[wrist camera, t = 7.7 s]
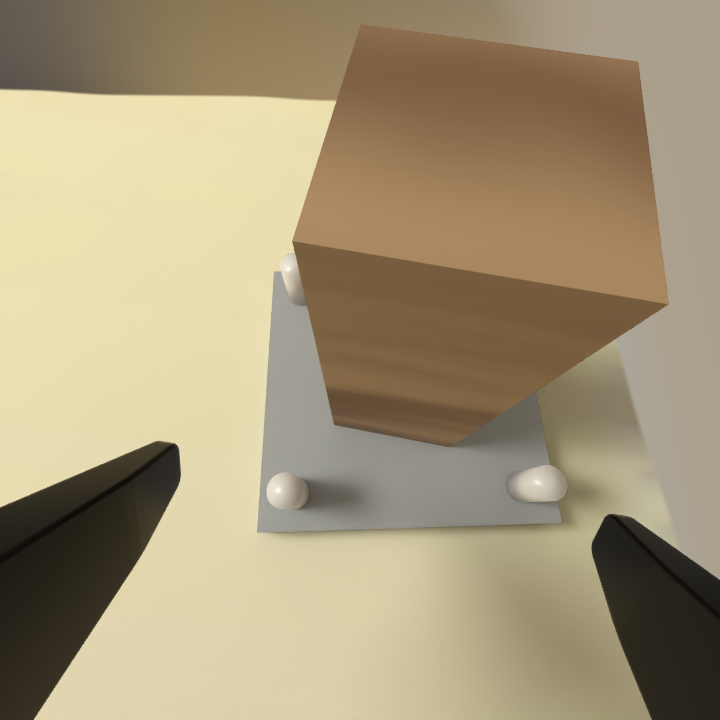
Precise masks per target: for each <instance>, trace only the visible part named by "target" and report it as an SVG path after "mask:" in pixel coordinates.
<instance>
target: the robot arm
mask: <svg viewBox="0 0 720 720" xmlns="http://www.w3.org/2000/svg"><path fill="white" fill-rule="evenodd" d="M180 478H181V469H180V456H179V448H178V446H177V445H176V444H175V443H170V442H163V441H156V442H153V443H151V444H148V445H146V446H144V447H141V448H139V449H137V450H134V451H132V452H130V453H127V454H125V455H123V456H120V457H118V458H115V459H113V460H111V461H108V462H106V463H104V464H101V465H99V466H97V467H94V468H92V469H90V470H87V471H85V472H83V473H80V474H78V475H75V476H73V477H71V478H68V479H66V480H64V481H61V482H59V483H57V484H54V485H52V486H50V487H47V488H45V489H42V490H40V491H38V492H35V493H33V494H31V495H28V496H26V497H24V498H21V499H19V500H17V501H14V502H12V503H9V504H7V505H5V506H2V507H0V720H34V718H35V717H36V715H37V714H38V712H39V711H40V709H41V708H42V706H43V705H44V703H45V702H46V700H47V699H48V697H49V696H50V694H51V693H52V691H53V689H54V688H55V686H56V685H57V683H58V682H59V680H60V679H61V677H62V676H63V674H64V673H65V671H66V670H67V668H68V667H69V665H70V664H71V662H72V661H73V659H74V657H75V656H76V654H77V653H78V651H79V650H80V648H81V647H82V645H83V644H84V642H85V641H86V639H87V638H88V636H89V635H90V633H91V632H92V630H93V629H94V627H95V625H96V624H97V622H98V621H99V619H100V618H101V616H102V615H103V613H104V612H105V610H106V609H107V607H108V606H109V604H110V603H111V601H112V600H113V598H114V597H115V595H116V593H117V592H118V590H119V589H120V587H121V586H122V584H123V583H124V581H125V580H126V578H127V577H128V575H129V574H130V572H131V571H132V569H133V568H134V566H135V565H136V563H137V561H138V560H139V558H140V557H141V555H142V553H143V552H144V550H145V548H146V546H147V544H148V543H149V541H150V539H151V537H152V535H153V533H154V531H155V529H156V527H157V525H158V523H159V522H160V520H161V518H162V516H163V514H164V512H165V510H166V508H167V506H168V504H169V502H170V501H171V499H172V497H173V495H174V493H175V491H176V489H177V487H178V485H179V482H180ZM592 555H593V559H594V562H595V565H596V569H597V572H598V575H599V578H600V582H601V585H602V588H603V591H604V594H605V598H606V601H607V604H608V607H609V611H610V614H611V617H612V620H613V623H614V626H615V629H616V632H617V635H618V638H619V640H620V643H621V646H622V648H623V651H624V653H625V656H626V658H627V660H628V663H629V665H630V668H631V670H632V673H633V675H634V678H635V680H636V682H637V685H638V687H639V690H640V692H641V695H642V697H643V700H644V702H645V704H646V707H647V709H648V712H649V714H650V717H651V719H652V720H720V580H719V579H718V578H716V577H715V576H714V575H712V574H711V573H709V572H708V571H707V570H705V569H704V568H702V567H701V566H699V565H698V564H697V563H695V562H694V561H692V560H691V559H690V558H688V557H687V556H685V555H684V554H683V553H681V552H680V551H678V550H677V549H676V548H674V547H673V546H671V545H670V544H668V543H667V542H666V541H664V540H663V539H661V538H660V537H659V536H657V535H656V534H654V533H653V532H652V531H650V530H649V529H647V528H646V527H645V526H643V525H642V524H640V523H639V522H637V521H636V520H635V519H633V518H631V517H628V516H623V515H616V514H609V515H607V516H606V517H605V518H604V520H603V522H602V524H601V526H600V528H599V530H598V532H597V534H596V536H595V538H594V540H593V542H592Z"/></svg>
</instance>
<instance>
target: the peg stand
mask: <svg viewBox="0 0 720 720" xmlns="http://www.w3.org/2000/svg"><path fill="white" fill-rule="evenodd" d="M280 269H281V272H274V281H273V297H272V312H271V328H270V343H269V359H268V374H267V390H266V405H265V421H264V436H263V452H262V467H261V482H260V498H259V513H258V529H257V533H267V532H298V531H329V530H361V529H392V528H423V527H455V526H486V525H518V524H549V523H562V519H561V514H560V510H559V505H558V500H560V499H562V498H563V497H564V496H565V495H566V493H567V489H568V483H567V479H566V477H565V475H564V474H563V473H562V471H560V470H559V469H558V468H556V467H554V466H551V465H550V461H549V456H548V451H547V446H546V442H545V437H544V432H543V427H542V422H541V417H540V412H539V408H538V403H537V398H536V393H535V392H534V393H532V394H531V395H529V396H528V397H526V398H525V399H523V400H521V401H520V402H518V403H517V404H515V405H514V406H512V407H511V408H509V409H508V410H506V411H505V412H503V413H502V414H500V415H499V416H497V417H495V418H494V419H492V420H491V421H489V422H488V423H486V424H485V425H483V426H482V427H480V428H479V429H477V430H476V431H474V432H473V433H471V434H470V435H468V436H466V437H465V438H463V439H462V440H460V441H459V442H457V443H456V444H454V445H453V446H451V447H445V446H440V445H435V444H430V443H424V442H419V441H414V440H409V439H404V438H399V437H393V436H388V435H383V434H378V433H373V432H368V431H362V430H357V429H352V428H347V427H342V426H337V425H334V423H333V418H332V414H331V409H330V405H329V401H328V396H327V392H326V387H325V383H324V378H323V374H322V370H321V365H320V361H319V356H318V352H317V348H316V343H315V339H314V334H313V330H312V326H311V321H310V317H309V312H308V308H307V303H306V299H305V295H304V290H303V286H302V281H301V277H300V273H299V268H298V264H297V259H296V255H295V253H291V254H288V255H286V256H284V257H283V258H282V260H281V262H280Z"/></svg>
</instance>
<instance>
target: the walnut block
mask: <svg viewBox="0 0 720 720" xmlns="http://www.w3.org/2000/svg"><path fill="white" fill-rule="evenodd" d="M292 242H293V246H294V251H295V255H296V259H297V264H298V268H299V273H300V277H301V281H302V286H303V290H304V295H305V299H306V303H307V308H308V312H309V317H310V321H311V326H312V330H313V334H314V339H315V343H316V348H317V352H318V356H319V361H320V365H321V370H322V374H323V378H324V383H325V387H326V392H327V396H328V401H329V405H330V409H331V414H332V418H333V423H334V425H337V426H342V427H347V428H352V429H357V430H362V431H368V432H373V433H378V434H383V435H388V436H393V437H399V438H404V439H409V440H414V441H419V442H424V443H430V444H435V445H440V446H445V447H451V446H453V445H454V444H456V443H457V442H459V441H460V440H462V439H463V438H465V437H466V436H468V435H470V434H471V433H473V432H474V431H476V430H477V429H479V428H480V427H482V426H483V425H485V424H486V423H488V422H489V421H491V420H492V419H494V418H495V417H497V416H499V415H500V414H502V413H503V412H505V411H506V410H508V409H509V408H511V407H512V406H514V405H515V404H517V403H518V402H520V401H521V400H523V399H525V398H526V397H528V396H529V395H531V394H532V393H534V392H535V391H537V390H538V389H540V388H541V387H543V386H544V385H546V384H547V383H549V382H551V381H552V380H554V379H555V378H557V377H558V376H560V375H561V374H563V373H564V372H566V371H567V370H569V369H570V368H572V367H573V366H575V365H577V364H578V363H580V362H581V361H583V360H584V359H586V358H587V357H589V356H590V355H592V354H593V353H595V352H596V351H598V350H599V349H601V348H602V347H604V346H606V345H607V344H609V343H610V342H612V341H613V340H615V339H616V338H618V337H619V336H621V335H622V334H624V333H625V332H627V331H628V330H629V329H632V328H633V327H635V326H636V325H638V324H639V323H641V322H642V321H644V320H645V319H647V318H648V317H650V316H651V315H653V314H654V313H656V312H658V311H659V310H660V309H662V308H664V307H665V306H667V305H668V304H669V303H668V295H667V287H666V279H665V272H664V263H663V255H662V248H661V239H660V232H659V223H658V215H657V208H656V200H655V193H654V184H653V176H652V168H651V160H650V153H649V145H648V136H647V128H646V121H645V113H644V105H643V97H642V89H641V81H640V73H639V65H638V62H636V61H628V60H621V59H614V58H606V57H599V56H591V55H584V54H576V53H569V52H562V51H554V50H547V49H539V48H532V47H524V46H517V45H510V44H501V43H495V42H487V41H480V40H472V39H465V38H458V37H450V36H443V35H435V34H427V33H420V32H413V31H406V30H398V29H391V28H382V27H375V26H368V25H360V29H359V32H358V35H357V38H356V41H355V45H354V48H353V51H352V54H351V57H350V60H349V63H348V67H347V70H346V73H345V76H344V80H343V83H342V86H341V89H340V92H339V95H338V98H337V101H336V105H335V108H334V111H333V114H332V117H331V120H330V124H329V127H328V130H327V133H326V136H325V139H324V142H323V146H322V149H321V152H320V155H319V158H318V161H317V165H316V168H315V171H314V174H313V177H312V180H311V184H310V187H309V190H308V193H307V196H306V199H305V203H304V206H303V209H302V212H301V215H300V218H299V222H298V225H297V228H296V231H295V234H294V237H293V241H292Z"/></svg>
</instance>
